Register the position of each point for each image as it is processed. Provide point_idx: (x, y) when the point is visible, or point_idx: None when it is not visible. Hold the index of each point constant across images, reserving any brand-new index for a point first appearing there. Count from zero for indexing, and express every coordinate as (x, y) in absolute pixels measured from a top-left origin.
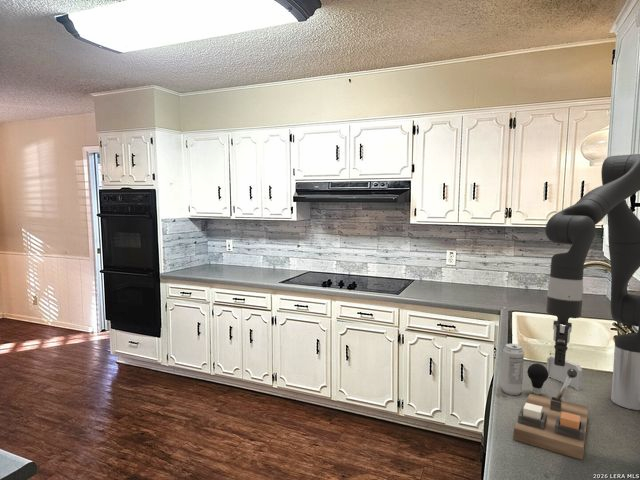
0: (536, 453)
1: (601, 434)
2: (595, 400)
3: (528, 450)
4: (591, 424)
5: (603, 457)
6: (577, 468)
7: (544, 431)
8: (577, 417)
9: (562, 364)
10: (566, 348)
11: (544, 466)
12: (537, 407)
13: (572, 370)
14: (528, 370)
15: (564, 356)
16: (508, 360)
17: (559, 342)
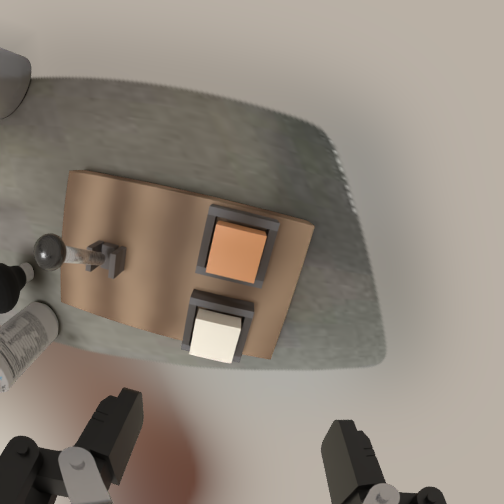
0: (310, 308)
1: (160, 151)
2: (9, 147)
3: (303, 321)
4: (116, 166)
5: (279, 171)
6: (344, 238)
7: (262, 302)
8: (232, 234)
9: (360, 431)
10: (443, 496)
11: (354, 298)
12: (208, 332)
13: (48, 257)
14: (4, 312)
15: (363, 461)
16: (19, 374)
17: (116, 474)
